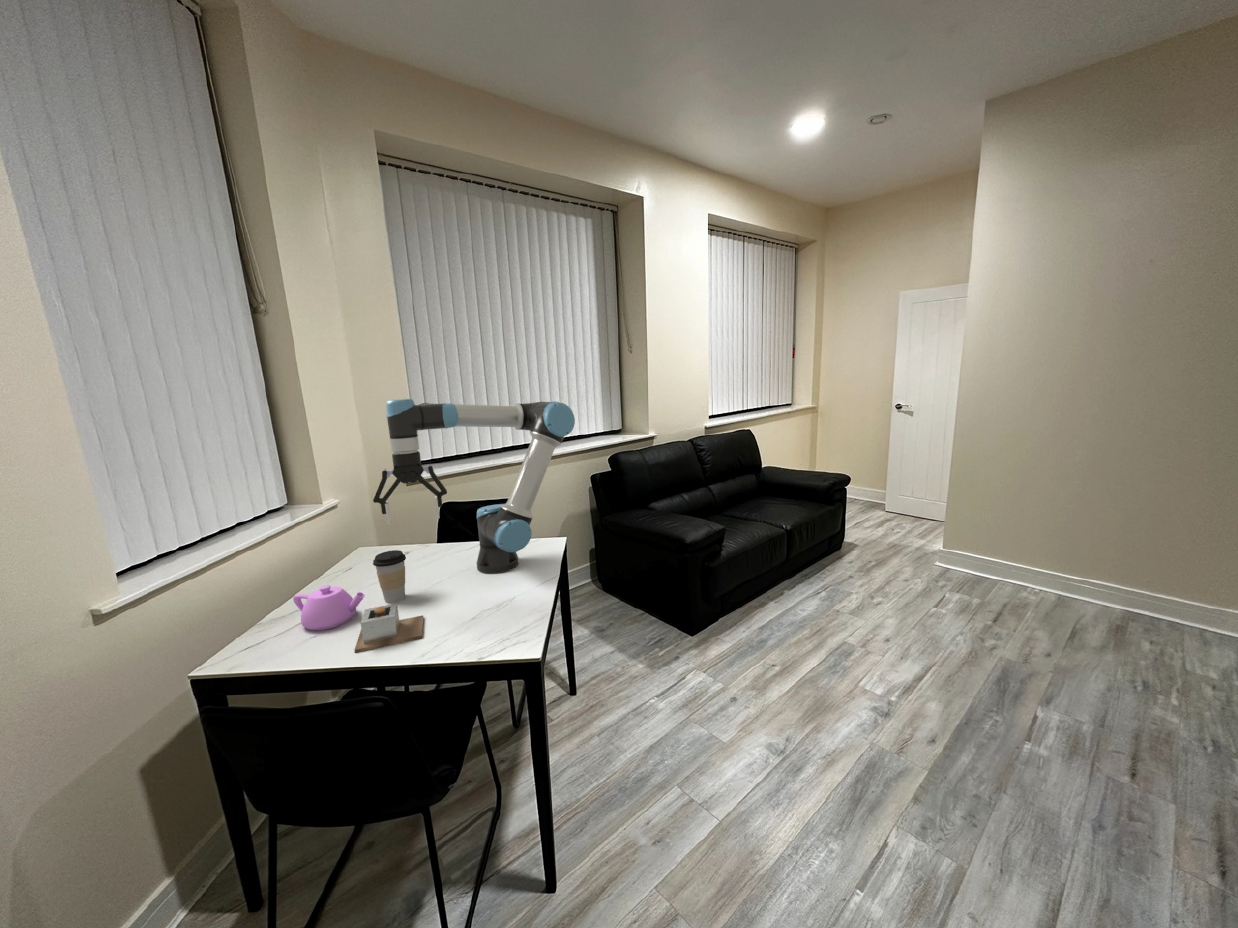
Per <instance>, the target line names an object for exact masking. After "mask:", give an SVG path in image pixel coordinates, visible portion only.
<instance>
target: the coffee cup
mask: <svg viewBox="0 0 1238 928" xmlns="http://www.w3.org/2000/svg"><path fill="white" fill-rule="evenodd" d="M406 559H407V557H406V555H405V554H404V553H403V551H402V550H398V549H396V550H388V551H383V552H380V553H378V554H376V555H375V556H374V559H373V561H372V565H373V566H374V567H375V569H376V575H377V579H378V582H379V586H380V589H381V592H382V595H383V600H384V602H385V603H386V604H397V603H398V602H401V601H403V600H405V598H406V565H405V561H406Z"/></svg>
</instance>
